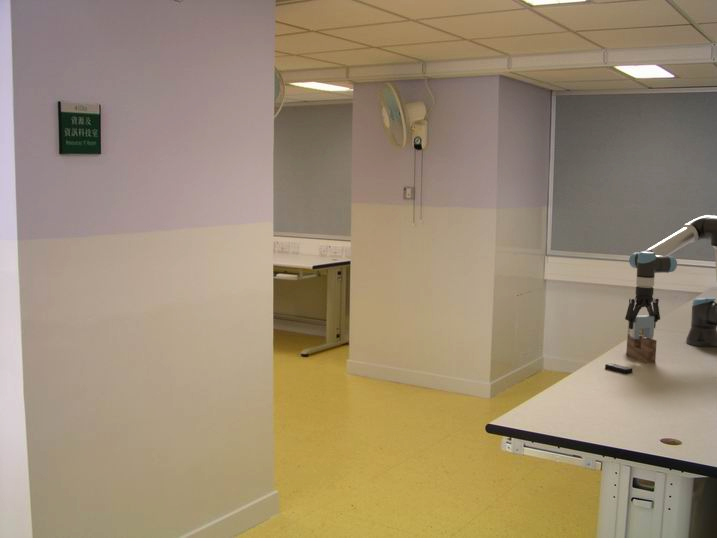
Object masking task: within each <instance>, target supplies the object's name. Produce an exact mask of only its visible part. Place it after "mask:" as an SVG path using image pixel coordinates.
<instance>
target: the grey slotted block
mask: <svg viewBox="0 0 717 538" xmlns="http://www.w3.org/2000/svg"><path fill="white" fill-rule="evenodd" d="M634 322H635V337H632V336H630V337H631V338H633V339H639V335H640V328H644V337H645V338H651V339H654V336H653V329H654V330H655V328H654V316H650V315H649V314H645V315H644V314H643V315H642V314H641V315H639V314H637V316H636V318H635V320H634Z"/></svg>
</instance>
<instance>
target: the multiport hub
mask: <svg viewBox="0 0 717 538" xmlns="http://www.w3.org/2000/svg"><path fill="white" fill-rule="evenodd" d="M604 366H605V367H604V369H605V370H607V371H612V372H615V373H618V374H619V373H620V374H623V375H629V374H633V368H631V367H629V366H624V365H619V364H617V363H607V364H605V365H604Z"/></svg>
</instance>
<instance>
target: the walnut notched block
mask: <svg viewBox="0 0 717 538" xmlns="http://www.w3.org/2000/svg"><path fill="white" fill-rule="evenodd" d="M627 336H628V337H627V338H626V356H629V357H631V358H634V359H636V360H639V361H641V362H644V363H646V364H652V363H653V364H654V363H656V359H657V357H656V356H657V343H658V342H657V341H658V340H656V339H654V338H653V339H651V338H646V337H645V338H642V335H639V339H633V338H631V337H630V334H628V333H627Z"/></svg>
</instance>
